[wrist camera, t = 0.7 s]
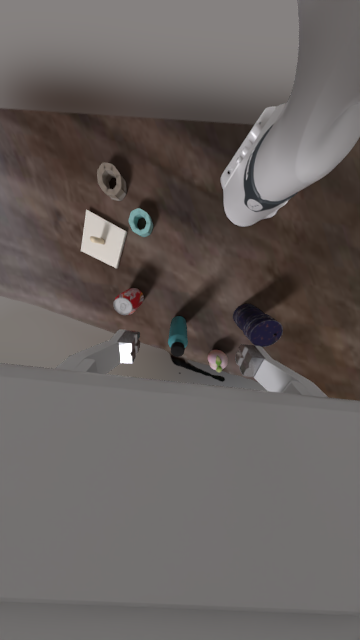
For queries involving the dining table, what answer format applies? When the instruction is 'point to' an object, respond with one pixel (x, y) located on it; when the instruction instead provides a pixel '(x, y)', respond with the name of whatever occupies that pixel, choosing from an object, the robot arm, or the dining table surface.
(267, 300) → the dining table surface
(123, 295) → the soda can
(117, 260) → the post stand
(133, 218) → the teal ring
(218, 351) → the decorative fruit
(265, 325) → the storage jar
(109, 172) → the grey ring
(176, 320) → the beverage bottle
